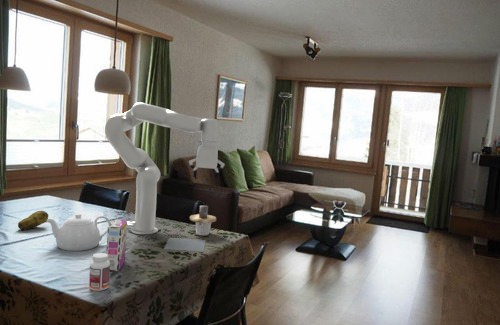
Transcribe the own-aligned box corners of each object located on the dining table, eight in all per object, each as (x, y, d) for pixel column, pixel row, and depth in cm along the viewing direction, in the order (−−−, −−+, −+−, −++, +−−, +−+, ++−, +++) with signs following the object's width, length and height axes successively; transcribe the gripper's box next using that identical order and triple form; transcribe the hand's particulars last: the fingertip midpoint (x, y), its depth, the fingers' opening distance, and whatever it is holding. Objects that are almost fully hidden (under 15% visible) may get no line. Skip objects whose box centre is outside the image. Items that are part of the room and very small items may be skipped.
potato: (16, 227, 194) (16, 210, 193) (47, 225, 202) (47, 208, 201) (18, 231, 187) (18, 214, 187) (49, 229, 195) (50, 212, 194)
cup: (206, 239, 200) (207, 223, 199) (190, 237, 201) (191, 220, 201) (212, 233, 210) (213, 218, 210) (197, 231, 212) (198, 216, 211)
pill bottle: (106, 282, 141) (108, 251, 140) (111, 289, 136) (112, 257, 135) (87, 285, 138) (88, 253, 136) (91, 292, 132) (92, 259, 131)
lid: (188, 222, 198) (189, 208, 197) (190, 215, 211) (191, 202, 210) (216, 223, 199) (217, 210, 198) (216, 217, 212) (217, 204, 211)
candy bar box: (119, 271, 151) (121, 227, 150) (104, 271, 151) (107, 226, 149) (125, 261, 162) (127, 220, 161) (112, 260, 162) (114, 219, 160)
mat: (163, 250, 179) (163, 249, 179) (169, 238, 196) (169, 237, 196) (203, 252, 180) (203, 251, 180) (205, 241, 197) (205, 240, 196)
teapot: (80, 255, 164) (81, 221, 163) (44, 247, 171) (45, 214, 169) (111, 243, 182) (112, 213, 180) (77, 236, 188) (78, 206, 187)
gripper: (189, 143, 197) (186, 179, 199) (226, 146, 198) (223, 182, 200) (190, 142, 204) (188, 176, 206) (226, 145, 205) (223, 179, 207)
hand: (205, 179), depth 203 cm, fingers open, 9 cm apart
